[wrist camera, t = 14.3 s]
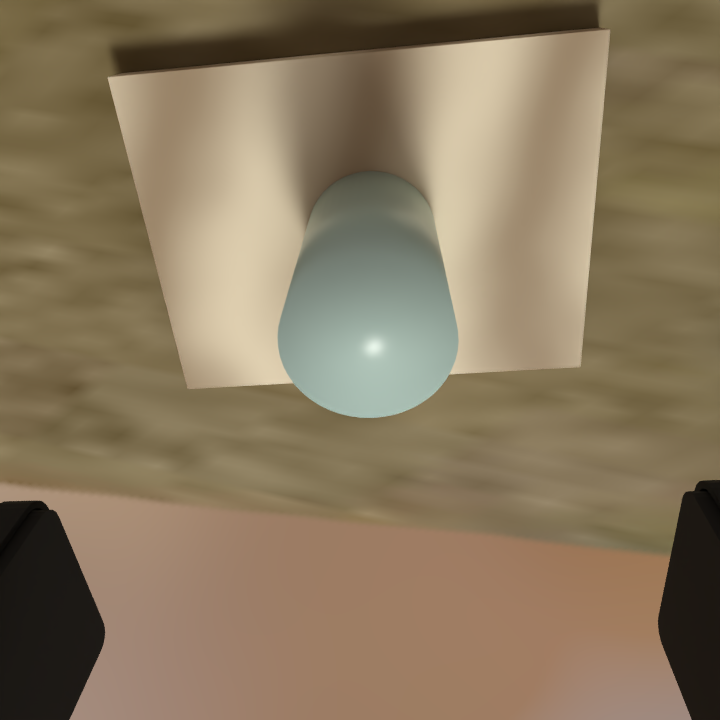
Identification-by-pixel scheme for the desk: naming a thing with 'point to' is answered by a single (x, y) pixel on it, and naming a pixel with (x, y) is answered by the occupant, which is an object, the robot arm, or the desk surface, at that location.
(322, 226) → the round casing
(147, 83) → the birch board
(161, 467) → the desk surface
